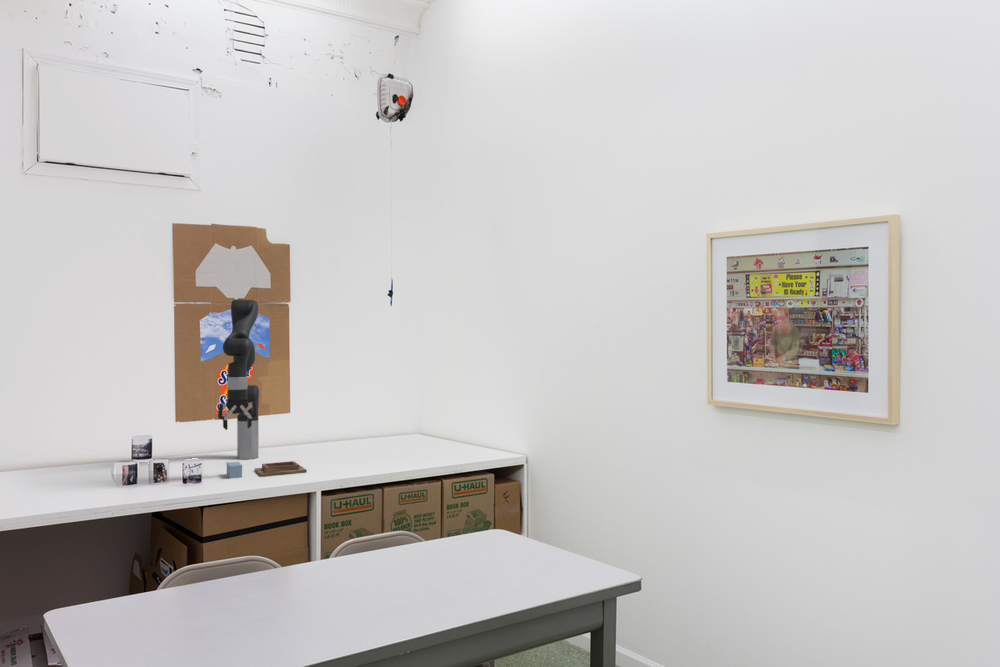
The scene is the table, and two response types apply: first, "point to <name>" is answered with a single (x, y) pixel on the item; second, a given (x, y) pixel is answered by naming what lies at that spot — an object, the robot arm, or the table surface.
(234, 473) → the bar
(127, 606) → the table surface
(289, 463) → the tray
